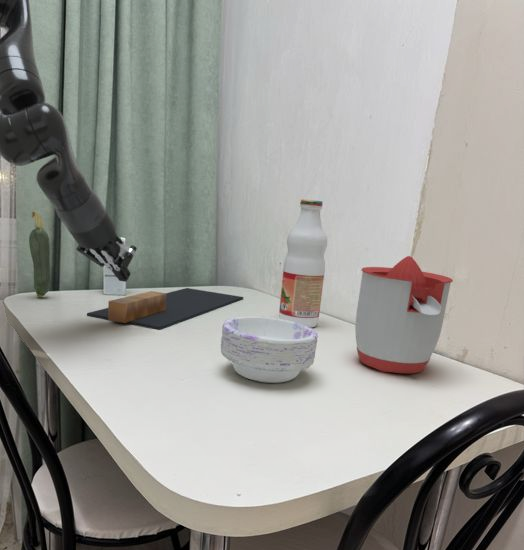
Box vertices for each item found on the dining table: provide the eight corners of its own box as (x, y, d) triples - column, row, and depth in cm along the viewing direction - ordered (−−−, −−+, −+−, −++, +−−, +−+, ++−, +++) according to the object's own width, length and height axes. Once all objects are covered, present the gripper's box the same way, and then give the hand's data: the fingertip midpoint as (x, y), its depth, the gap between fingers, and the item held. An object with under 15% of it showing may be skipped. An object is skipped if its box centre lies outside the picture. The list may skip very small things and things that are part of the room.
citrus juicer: (376, 383, 82) (396, 260, 77) (335, 351, 98) (349, 248, 93) (458, 383, 87) (483, 266, 81) (406, 352, 103) (424, 253, 97)
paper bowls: (331, 381, 81) (338, 334, 79) (258, 397, 72) (263, 343, 70) (271, 354, 93) (275, 312, 90) (201, 365, 83) (203, 318, 81)
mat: (159, 329, 102) (159, 326, 102) (86, 315, 108) (86, 313, 108) (243, 299, 142) (243, 296, 142) (186, 289, 148) (186, 287, 148)
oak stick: (124, 303, 102) (166, 293, 116) (108, 300, 103) (151, 290, 117) (124, 323, 103) (165, 310, 117) (108, 319, 104) (151, 307, 118)
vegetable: (55, 298, 121) (52, 212, 115) (39, 300, 117) (36, 212, 112) (43, 295, 123) (40, 210, 117) (27, 297, 119) (23, 210, 114)
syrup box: (126, 295, 132) (126, 239, 128) (102, 294, 131) (102, 237, 127) (125, 291, 138) (126, 237, 133) (102, 290, 136) (103, 235, 132)
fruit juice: (309, 330, 113) (324, 201, 105) (271, 323, 117) (283, 197, 109) (323, 323, 121) (338, 202, 113) (287, 316, 125) (299, 199, 117)
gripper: (125, 204, 88) (160, 268, 103) (64, 197, 93) (106, 260, 107) (106, 235, 85) (145, 297, 100) (43, 227, 89) (90, 287, 104)
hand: (125, 277), depth 103 cm, fingers closed
